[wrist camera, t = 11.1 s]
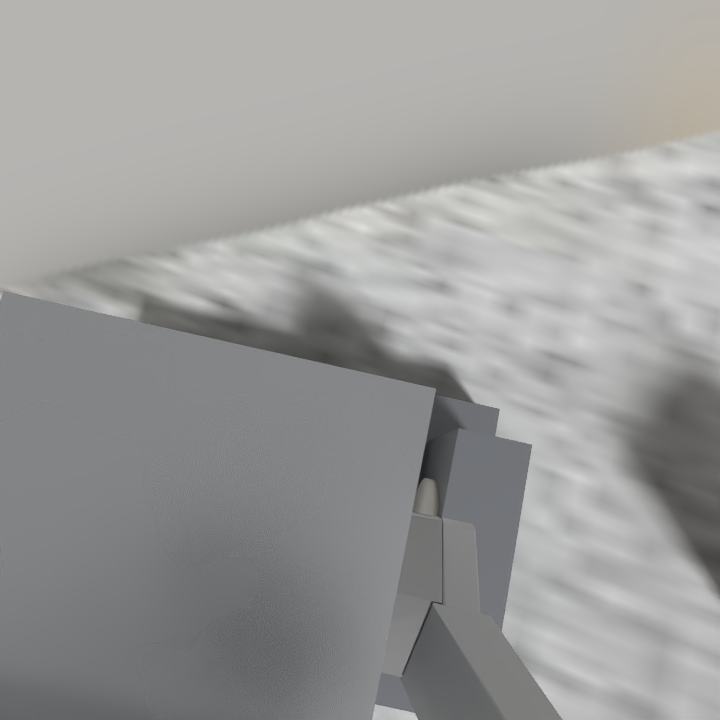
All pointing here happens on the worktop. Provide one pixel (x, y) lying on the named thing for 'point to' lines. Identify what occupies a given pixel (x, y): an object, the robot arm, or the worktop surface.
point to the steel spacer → (194, 523)
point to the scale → (470, 501)
